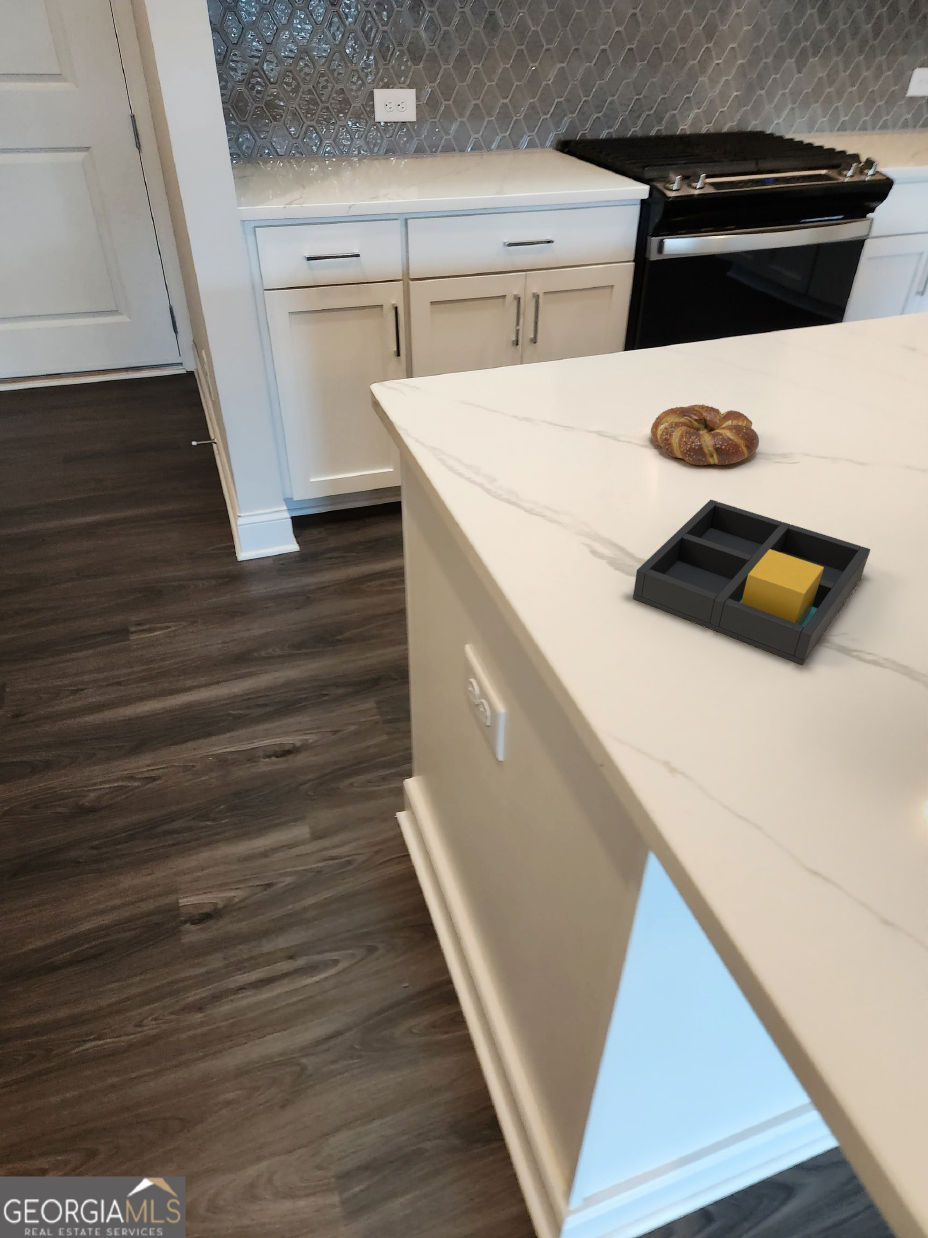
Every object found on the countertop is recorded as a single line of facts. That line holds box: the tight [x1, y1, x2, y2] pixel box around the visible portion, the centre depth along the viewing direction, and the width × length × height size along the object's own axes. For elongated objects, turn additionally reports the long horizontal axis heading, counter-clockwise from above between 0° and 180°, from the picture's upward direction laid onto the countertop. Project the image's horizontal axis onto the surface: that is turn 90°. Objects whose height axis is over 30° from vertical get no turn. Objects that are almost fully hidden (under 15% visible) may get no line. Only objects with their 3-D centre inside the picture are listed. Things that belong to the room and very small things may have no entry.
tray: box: [632, 499, 871, 666], centre depth 71 cm, size 15×15×3 cm
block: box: [741, 549, 824, 625], centre depth 67 cm, size 4×4×4 cm
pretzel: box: [650, 404, 760, 466], centre depth 93 cm, size 12×11×4 cm
